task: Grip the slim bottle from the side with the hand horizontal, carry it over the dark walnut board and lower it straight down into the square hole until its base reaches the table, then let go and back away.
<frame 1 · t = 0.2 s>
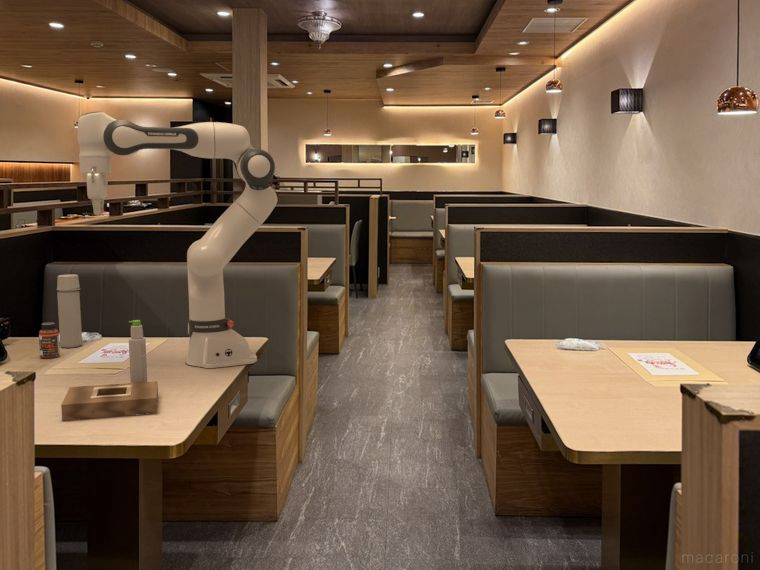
hand: (98, 214, 222), 48 cm above the table, tool pointing down, fingers open, 8 cm apart
water bottle: (72, 346, 259), on the table
socket board: (112, 407, 189), on the table
bottle: (139, 392, 203), on the table
supplement bottle: (50, 357, 243), on the table
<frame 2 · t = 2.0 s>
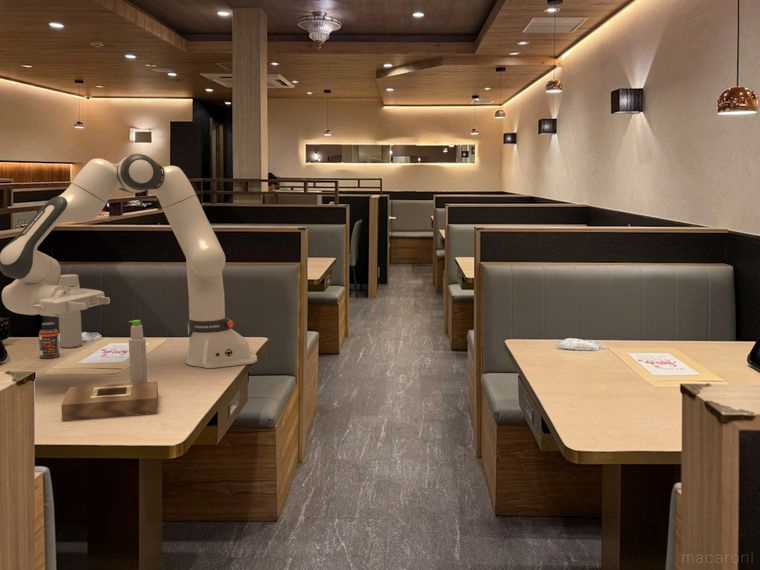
hand: (97, 303, 203), 24 cm above the table, tool horizontal, fingers open, 8 cm apart
nothing on the table moved.
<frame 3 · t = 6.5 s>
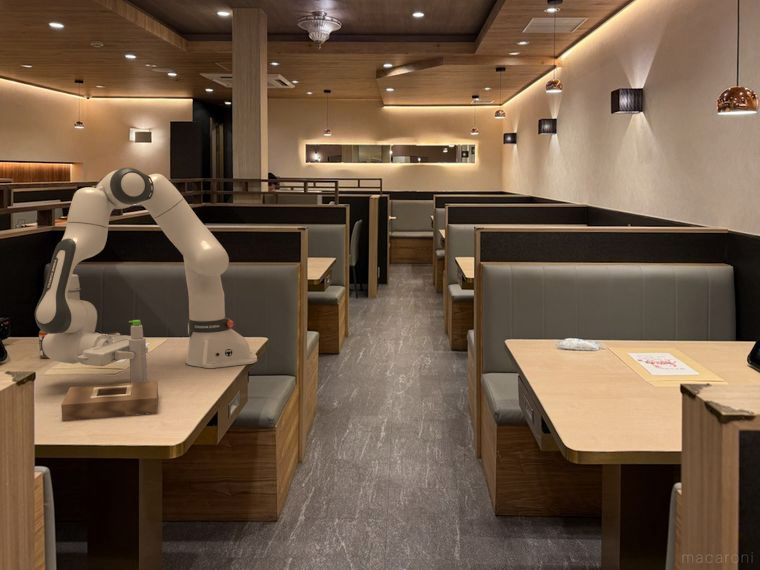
hand: (140, 353, 201), 11 cm above the table, tool horizontal, fingers closed on bottle, 4 cm apart
bottle: (139, 392, 203), on the table, touching gripper
everything else where it was.
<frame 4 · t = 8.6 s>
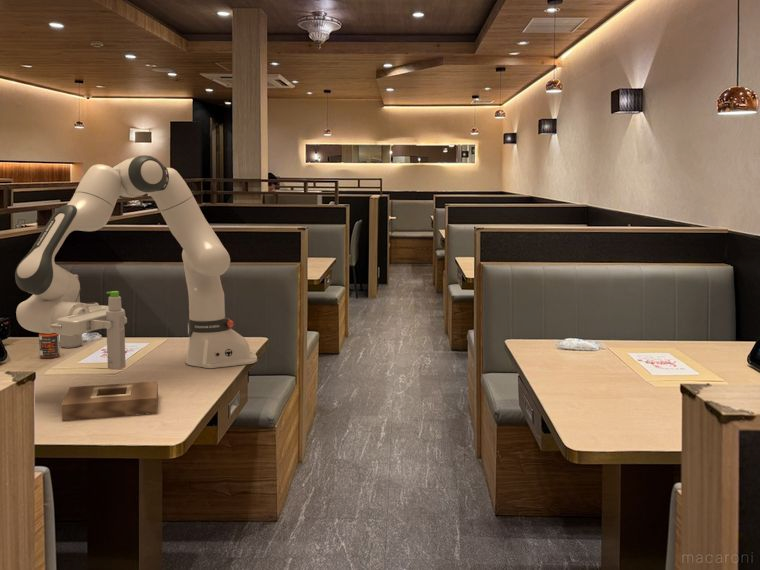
hand: (118, 322, 190), 21 cm above the table, tool horizontal, fingers closed on bottle, 4 cm apart
bottle: (116, 368, 192), point 9 cm above the table, touching gripper
everything else where it was.
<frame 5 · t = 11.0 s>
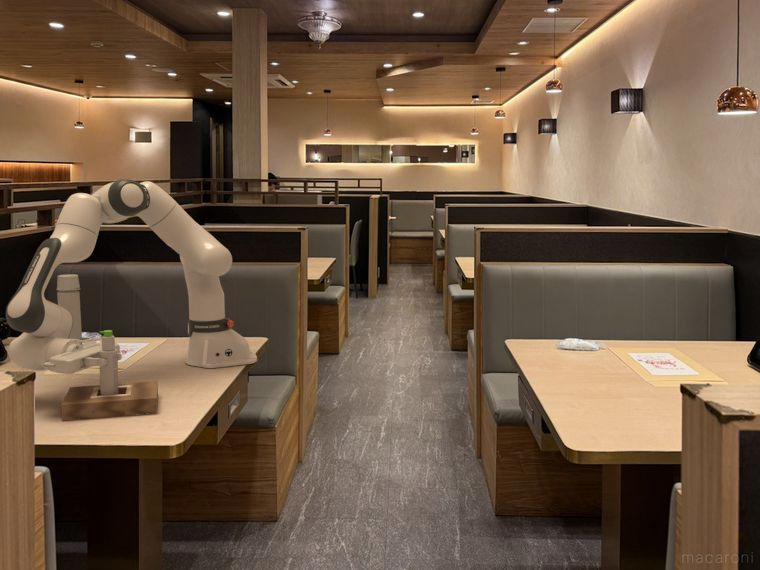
hand: (112, 359, 187), 13 cm above the table, tool horizontal, fingers closed on bottle, 4 cm apart
bottle: (109, 407, 189), resting in socket board, touching gripper
everything else where it was.
when the fingers open (12 cm above the table, at t = 11.6 s): bottle stays where it is, resting in socket board.
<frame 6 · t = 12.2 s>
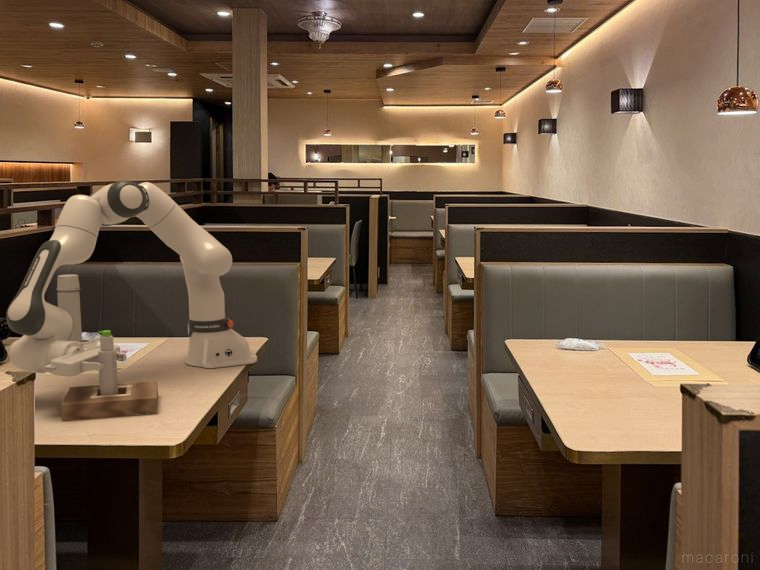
hand: (113, 361, 187), 12 cm above the table, tool horizontal, fingers open, 8 cm apart
bottle: (109, 408, 189), resting in socket board
everything else where it was.
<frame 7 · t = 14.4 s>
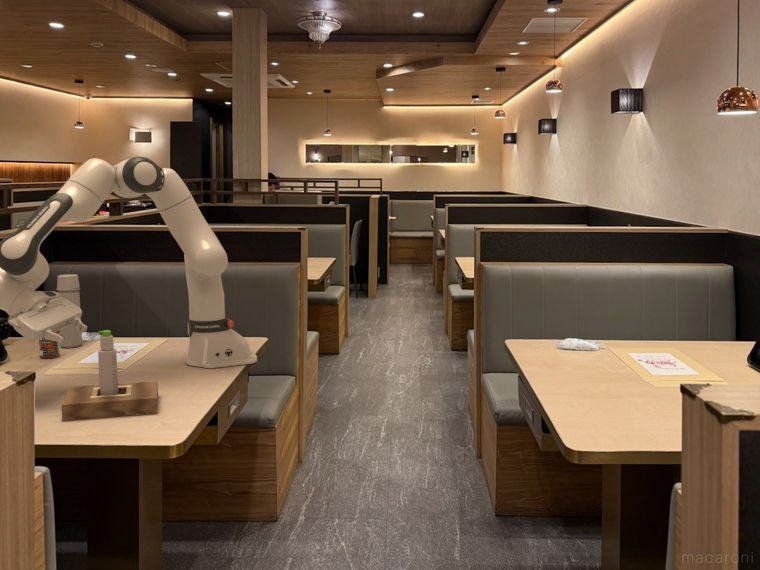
hand: (74, 335, 194), 17 cm above the table, tool tilted 60°, fingers open, 8 cm apart
nothing on the table moved.
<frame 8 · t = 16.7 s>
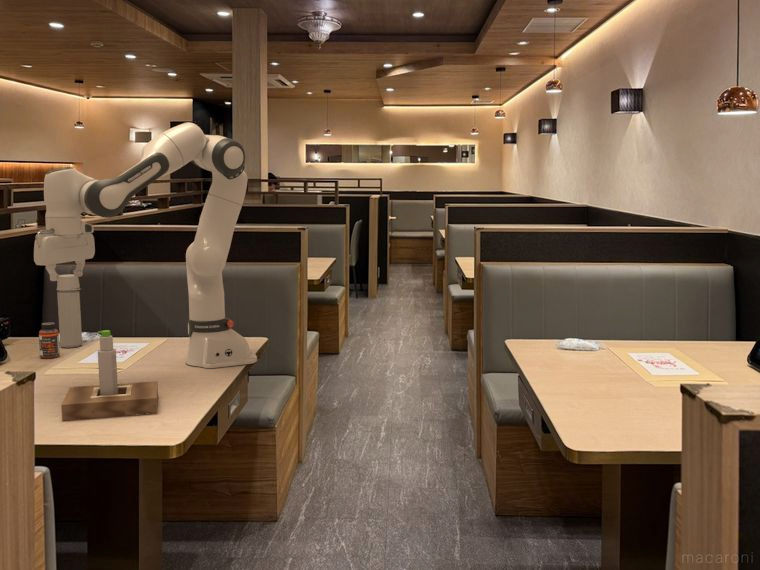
hand: (66, 278, 201), 31 cm above the table, tool pointing down, fingers open, 8 cm apart
nothing on the table moved.
at the end: bottle 0.8 cm off-centre on the socket board, point 0.0 cm above the socket board's base; bottle tilted 0°; the gripper is holding nothing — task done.
